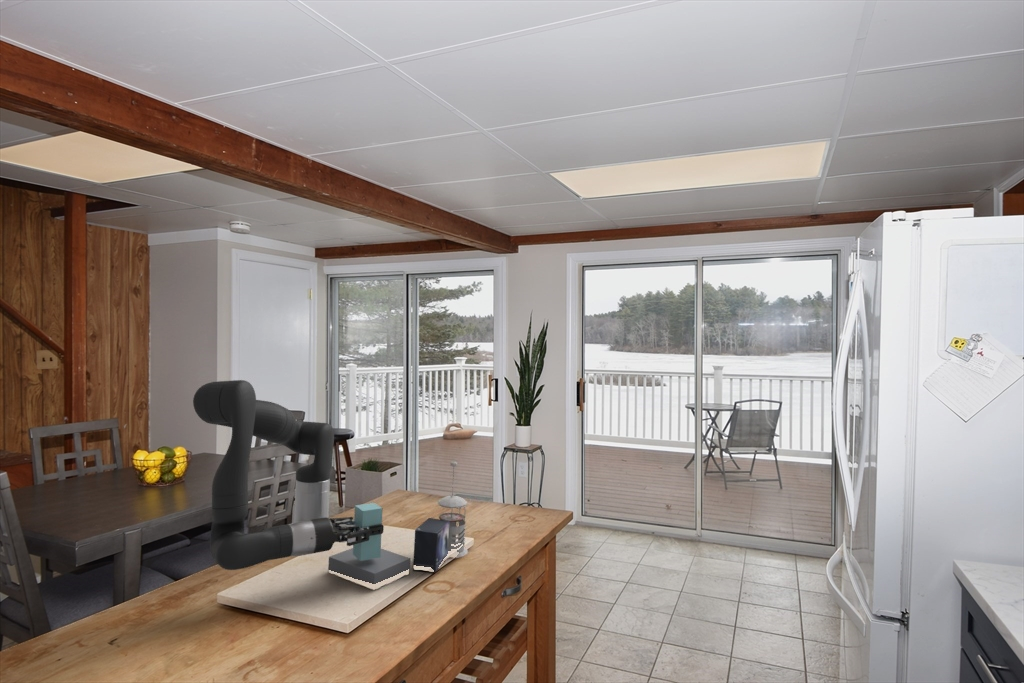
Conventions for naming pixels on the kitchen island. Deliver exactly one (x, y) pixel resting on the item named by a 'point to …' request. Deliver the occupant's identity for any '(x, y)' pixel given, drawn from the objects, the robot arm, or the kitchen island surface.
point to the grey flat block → (369, 566)
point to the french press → (454, 520)
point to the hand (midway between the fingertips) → (377, 525)
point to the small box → (431, 543)
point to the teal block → (371, 548)
